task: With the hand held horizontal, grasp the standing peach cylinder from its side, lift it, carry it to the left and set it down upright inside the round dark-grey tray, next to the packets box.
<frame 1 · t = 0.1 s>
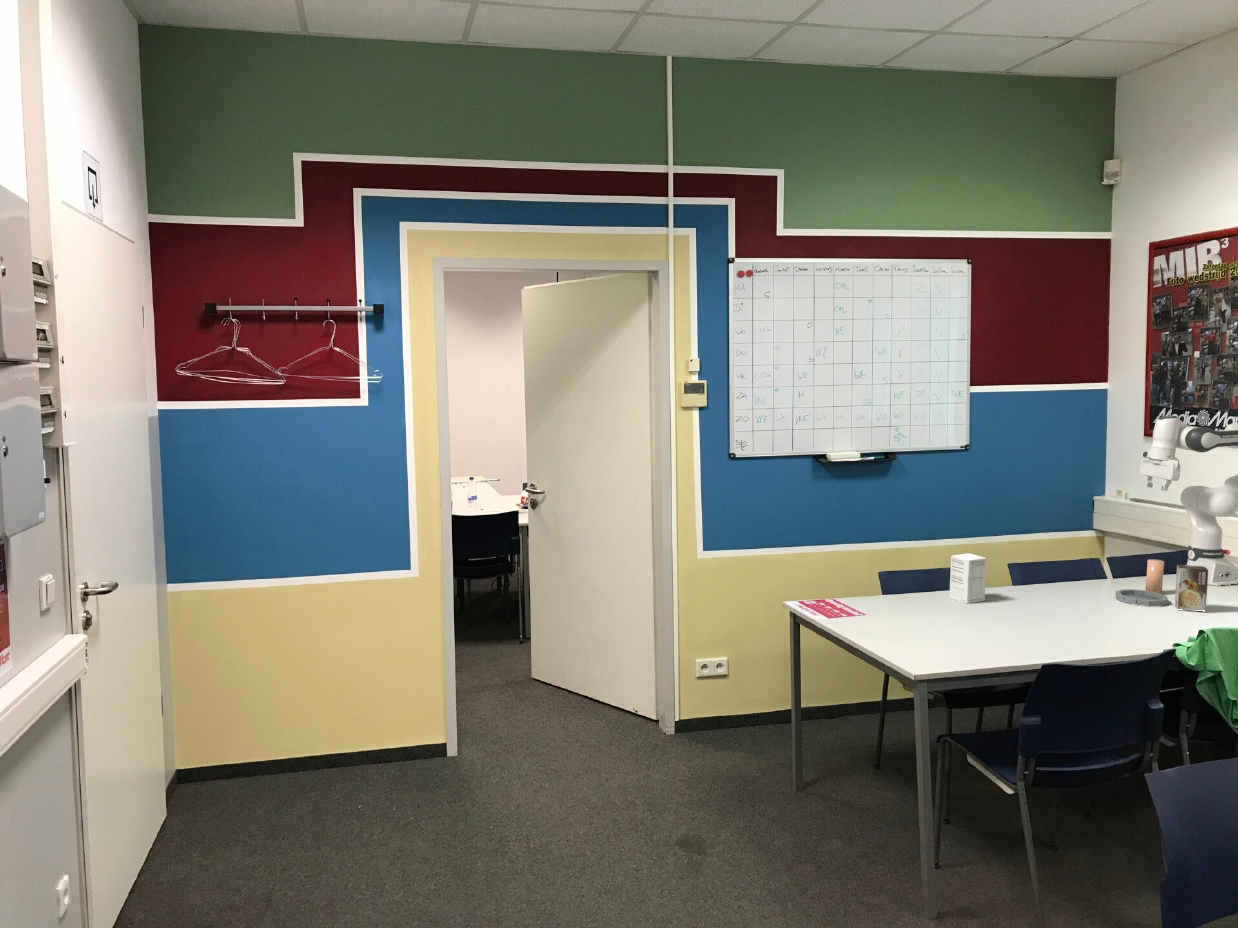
hand: (1156, 488, 375), 39 cm above the table, tool pointing down, fingers open, 8 cm apart
coffee box: (1189, 609, 338), on the table
peach cylinder: (1153, 593, 361), on the table
tray: (1141, 600, 350), on the table
supplement box: (966, 600, 351), on the table
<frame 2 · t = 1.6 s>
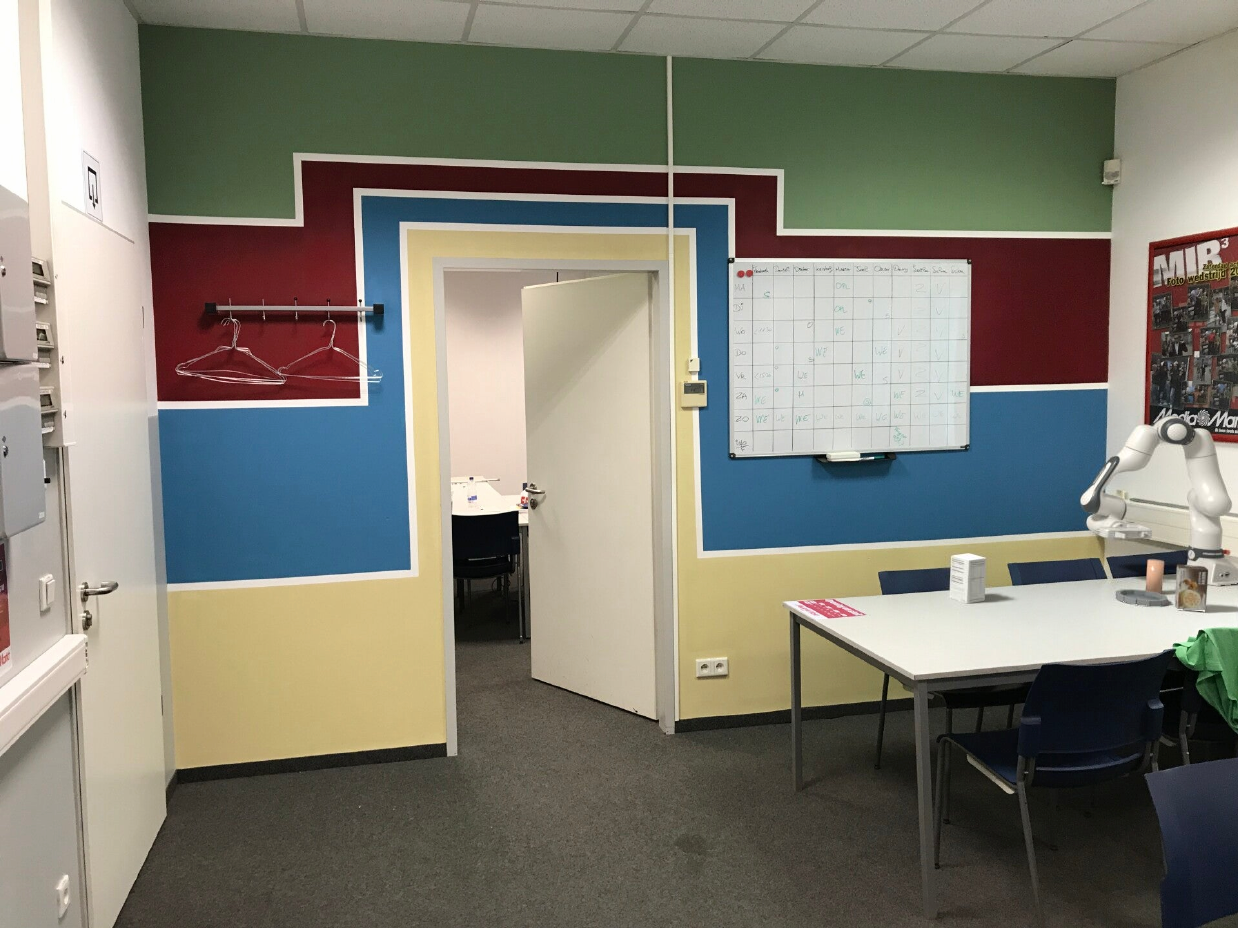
hand: (1137, 536, 371), 20 cm above the table, tool horizontal, fingers open, 8 cm apart
nothing on the table moved.
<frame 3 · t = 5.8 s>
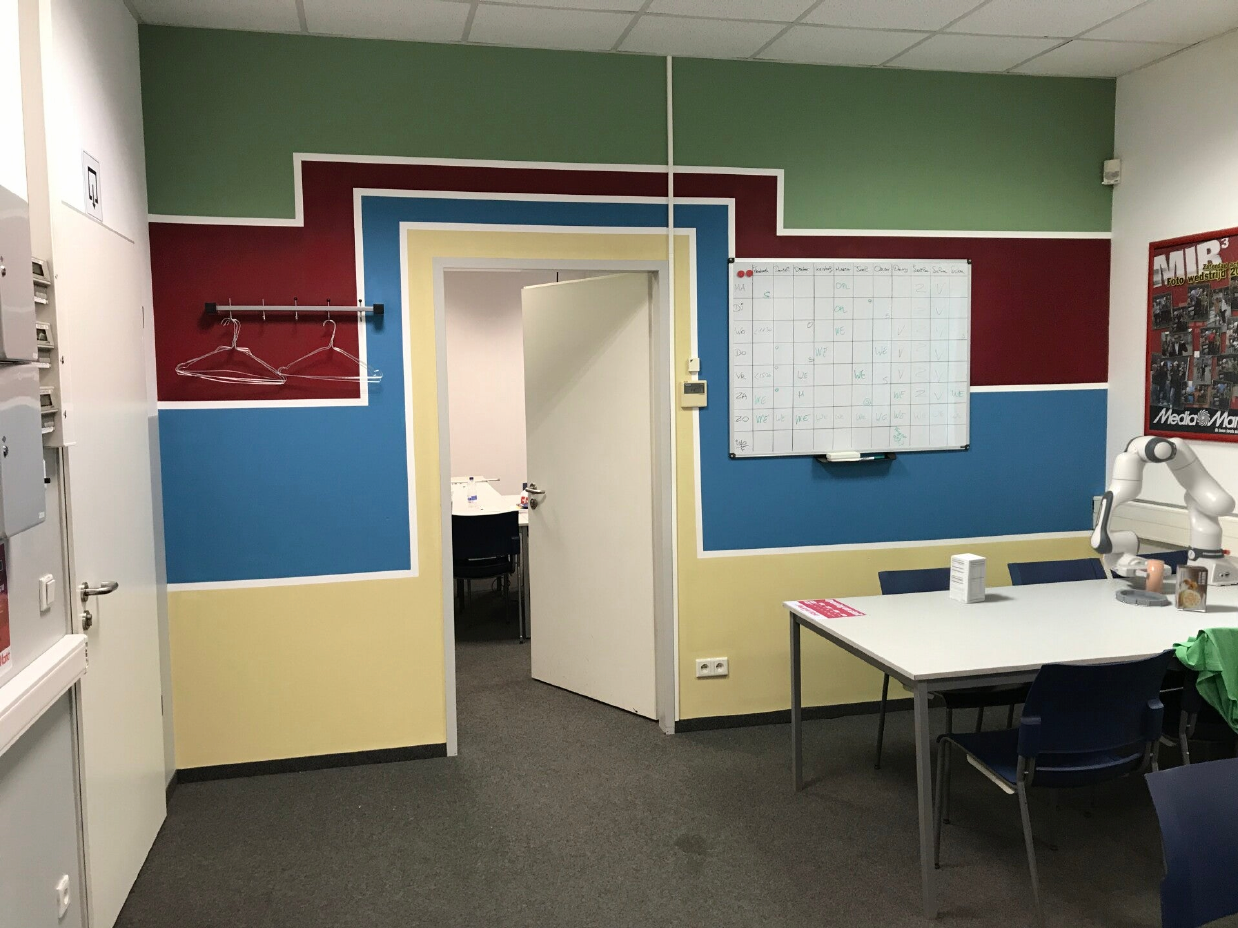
hand: (1156, 575, 360), 8 cm above the table, tool horizontal, fingers closed on peach cylinder, 6 cm apart
peach cylinder: (1153, 593, 361), on the table, touching gripper
everything else where it was.
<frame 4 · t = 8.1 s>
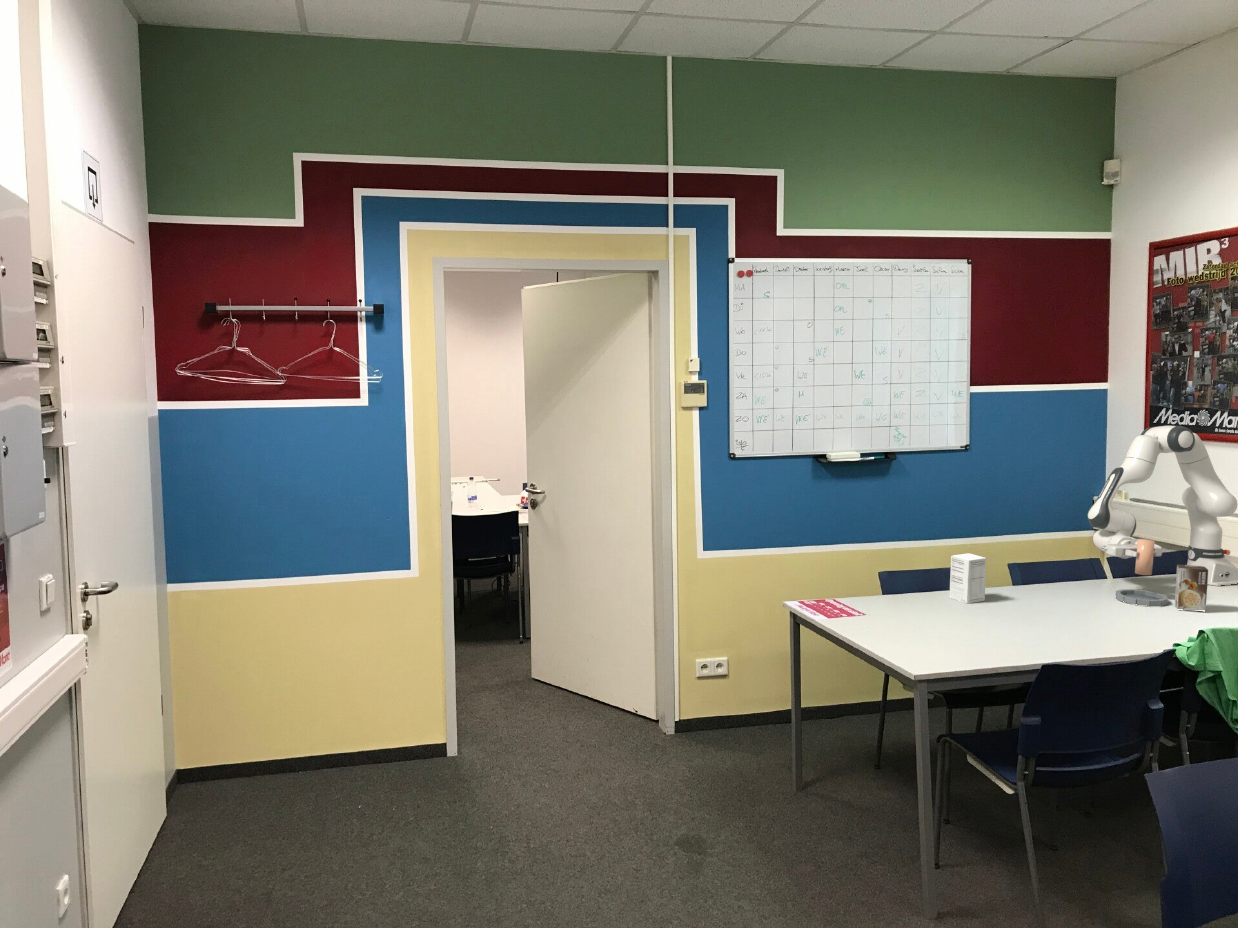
hand: (1146, 554, 350), 17 cm above the table, tool horizontal, fingers closed on peach cylinder, 6 cm apart
peach cylinder: (1143, 573, 352), point 10 cm above the table, touching gripper
everything else where it was.
when the fingers open (9 cm above the table, at t = 10.3 s): peach cylinder drops 1 cm, resting on tray.
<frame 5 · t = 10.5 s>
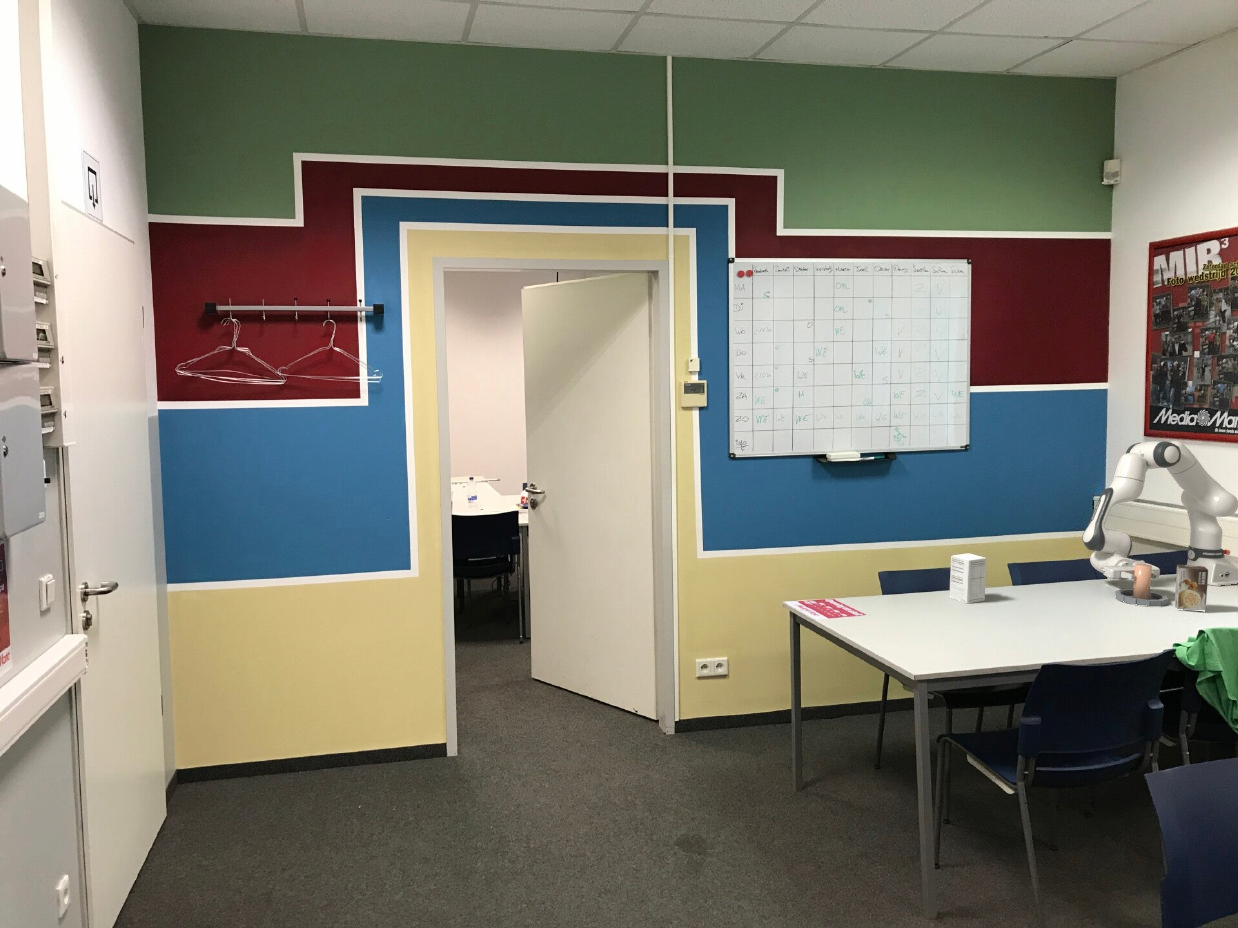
hand: (1144, 576, 349), 9 cm above the table, tool horizontal, fingers open, 8 cm apart
peach cylinder: (1141, 598, 350), point 1 cm above the table, touching tray
everything else where it was.
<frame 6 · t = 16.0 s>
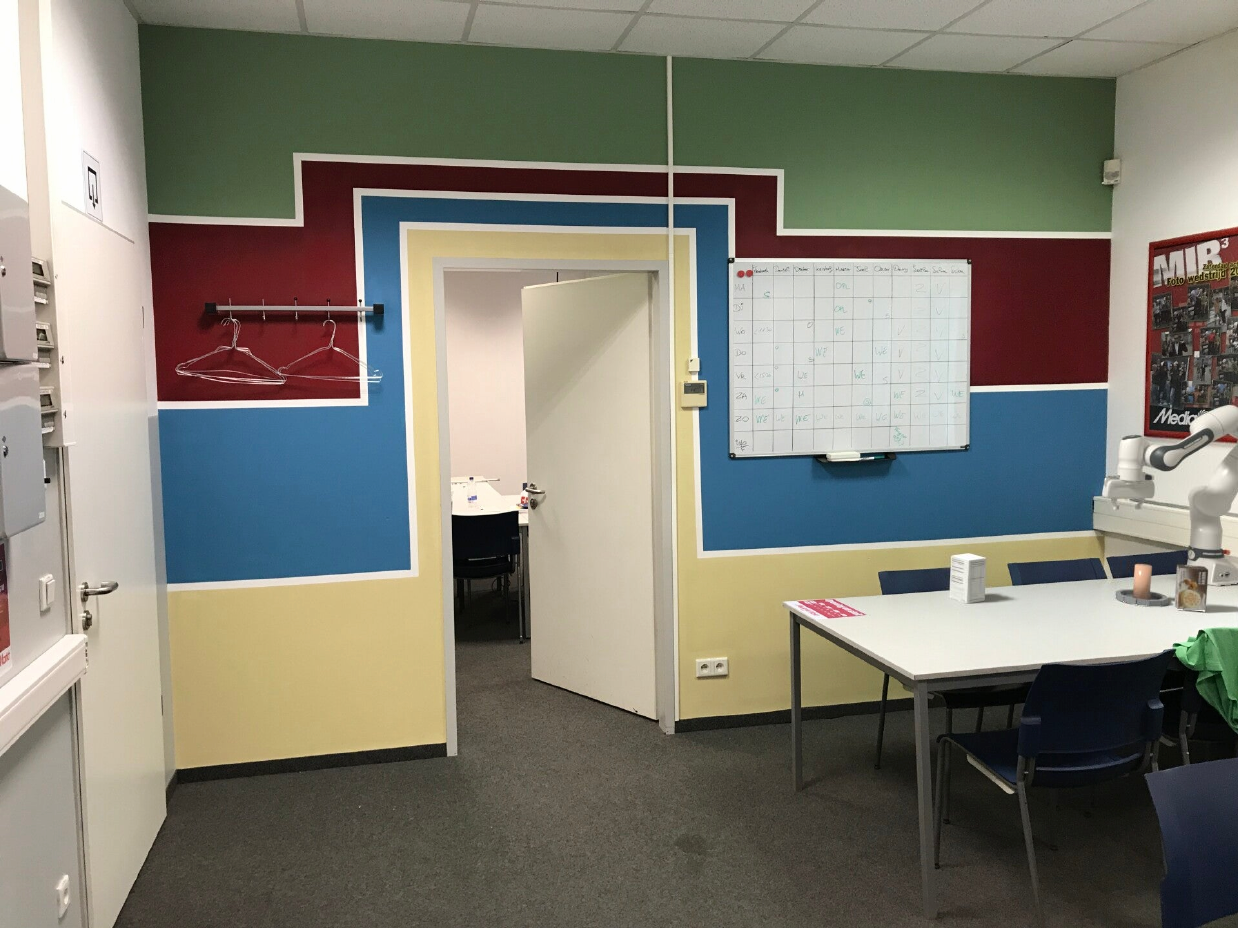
hand: (1127, 509, 371), 31 cm above the table, tool pointing down, fingers open, 8 cm apart
nothing on the table moved.
at the end: peach cylinder 0.1 cm from the tray (horizontally); peach cylinder tilted 0°; the gripper is holding nothing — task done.
